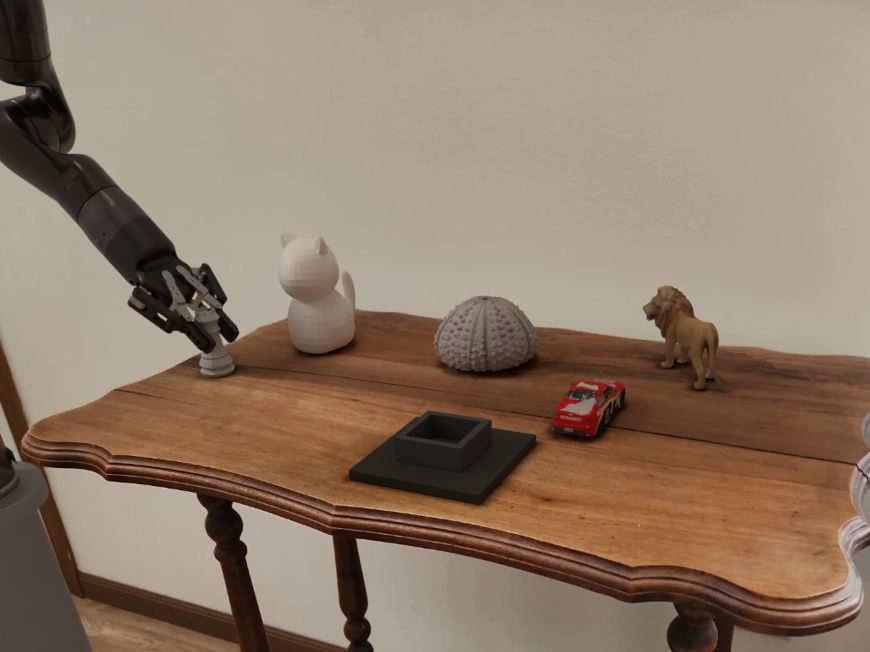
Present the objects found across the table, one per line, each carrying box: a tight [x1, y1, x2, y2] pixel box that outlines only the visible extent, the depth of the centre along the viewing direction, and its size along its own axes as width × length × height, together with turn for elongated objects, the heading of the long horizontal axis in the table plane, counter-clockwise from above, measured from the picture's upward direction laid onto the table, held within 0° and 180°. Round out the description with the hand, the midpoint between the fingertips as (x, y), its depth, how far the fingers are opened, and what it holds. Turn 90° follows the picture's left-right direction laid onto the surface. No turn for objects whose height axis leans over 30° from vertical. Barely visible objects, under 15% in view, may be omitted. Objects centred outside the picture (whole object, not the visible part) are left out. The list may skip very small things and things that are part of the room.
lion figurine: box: [642, 285, 728, 390], centre depth 95 cm, size 15×5×9 cm, turn 24°
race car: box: [551, 377, 627, 438], centre depth 87 cm, size 13×5×4 cm, turn 153°
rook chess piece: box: [192, 306, 236, 379], centre depth 104 cm, size 4×4×8 cm
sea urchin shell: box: [432, 295, 540, 373], centre depth 102 cm, size 13×14×8 cm
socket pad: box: [348, 409, 537, 505], centre depth 80 cm, size 14×14×4 cm
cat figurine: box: [278, 231, 356, 355], centre depth 109 cm, size 9×12×15 cm
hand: (223, 343), depth 103 cm, fingers open, 4 cm apart
